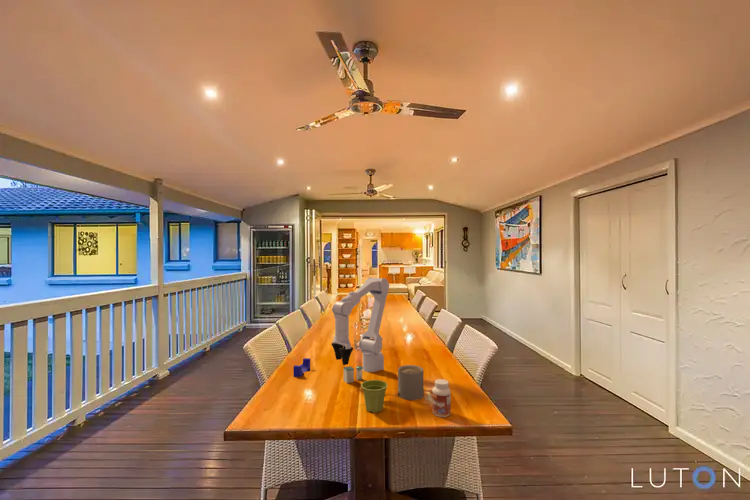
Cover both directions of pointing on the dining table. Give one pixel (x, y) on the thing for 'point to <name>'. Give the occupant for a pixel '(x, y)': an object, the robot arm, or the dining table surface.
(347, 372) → the leg
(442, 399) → the pill bottle
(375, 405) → the plant pot
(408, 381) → the coffee mug
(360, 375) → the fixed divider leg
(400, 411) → the dining table surface
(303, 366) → the cable clip
